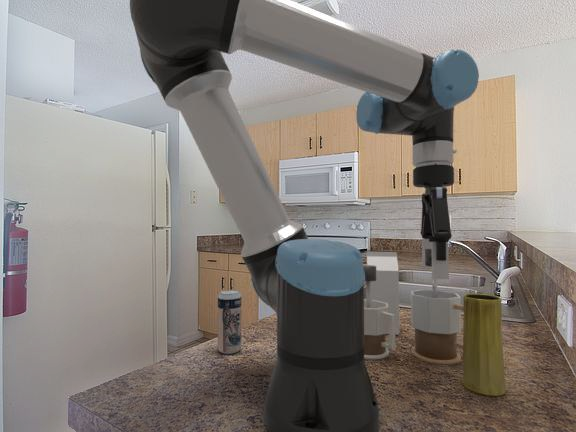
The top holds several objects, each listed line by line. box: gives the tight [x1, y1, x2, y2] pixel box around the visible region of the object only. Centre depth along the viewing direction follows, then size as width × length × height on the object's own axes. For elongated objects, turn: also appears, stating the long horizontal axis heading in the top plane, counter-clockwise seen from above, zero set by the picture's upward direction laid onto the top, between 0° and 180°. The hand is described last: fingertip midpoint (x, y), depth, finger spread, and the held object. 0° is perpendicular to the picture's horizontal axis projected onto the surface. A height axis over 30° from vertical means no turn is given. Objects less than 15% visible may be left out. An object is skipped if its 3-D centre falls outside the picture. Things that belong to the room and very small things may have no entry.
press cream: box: [363, 264, 396, 361], centre depth 68 cm, size 8×10×17 cm
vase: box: [461, 292, 507, 397], centre depth 54 cm, size 6×6×14 cm
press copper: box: [410, 289, 464, 366], centre depth 66 cm, size 9×12×12 cm
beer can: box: [217, 289, 242, 355], centre depth 70 cm, size 5×5×12 cm
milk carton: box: [366, 251, 400, 336], centre depth 83 cm, size 7×7×19 cm
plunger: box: [425, 249, 438, 298], centre depth 67 cm, size 6×6×14 cm
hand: (434, 273), depth 67 cm, fingers open, 13 cm apart
